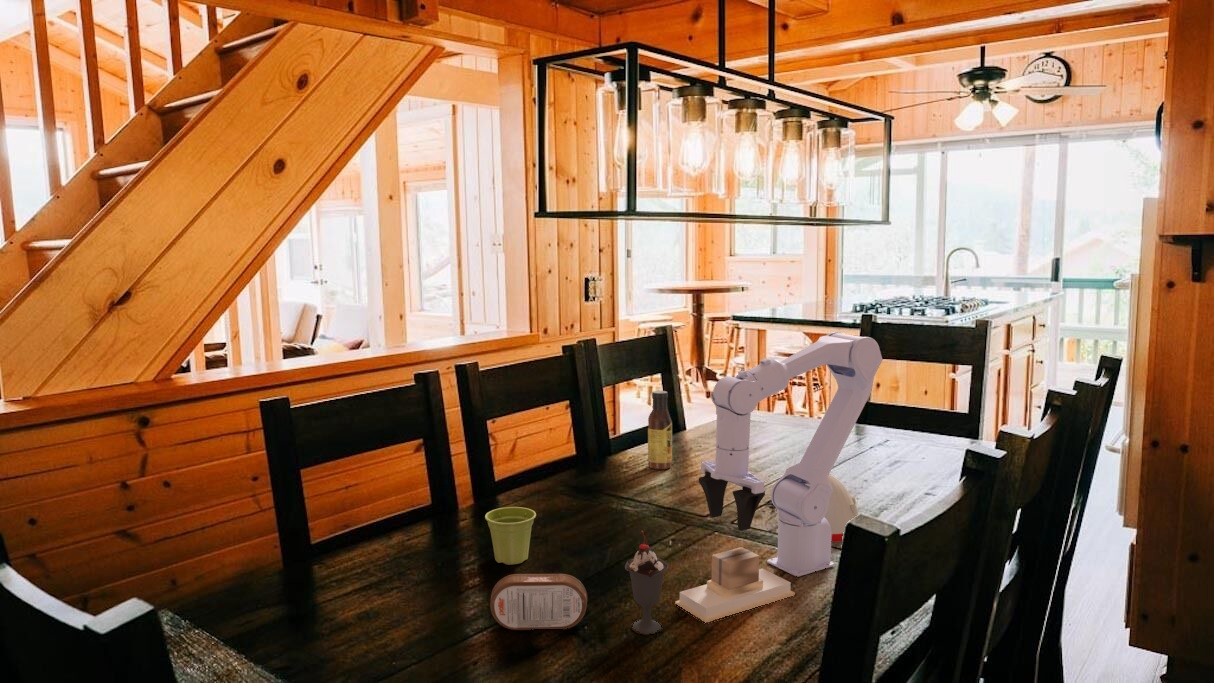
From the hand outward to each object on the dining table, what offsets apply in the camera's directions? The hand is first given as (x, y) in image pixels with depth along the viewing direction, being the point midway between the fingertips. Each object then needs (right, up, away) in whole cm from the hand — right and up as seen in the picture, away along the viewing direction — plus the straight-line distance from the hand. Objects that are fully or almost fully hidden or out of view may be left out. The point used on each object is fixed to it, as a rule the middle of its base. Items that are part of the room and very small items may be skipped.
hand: (729, 522), depth 145 cm
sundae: (-15, -13, -16) cm, 26 cm away
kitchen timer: (+23, -7, +26) cm, 35 cm away
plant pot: (-39, -9, +11) cm, 42 cm away
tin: (-32, -13, -16) cm, 38 cm away
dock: (0, -11, -7) cm, 13 cm away
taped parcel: (0, -9, -7) cm, 12 cm away
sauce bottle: (-8, -1, +71) cm, 72 cm away
